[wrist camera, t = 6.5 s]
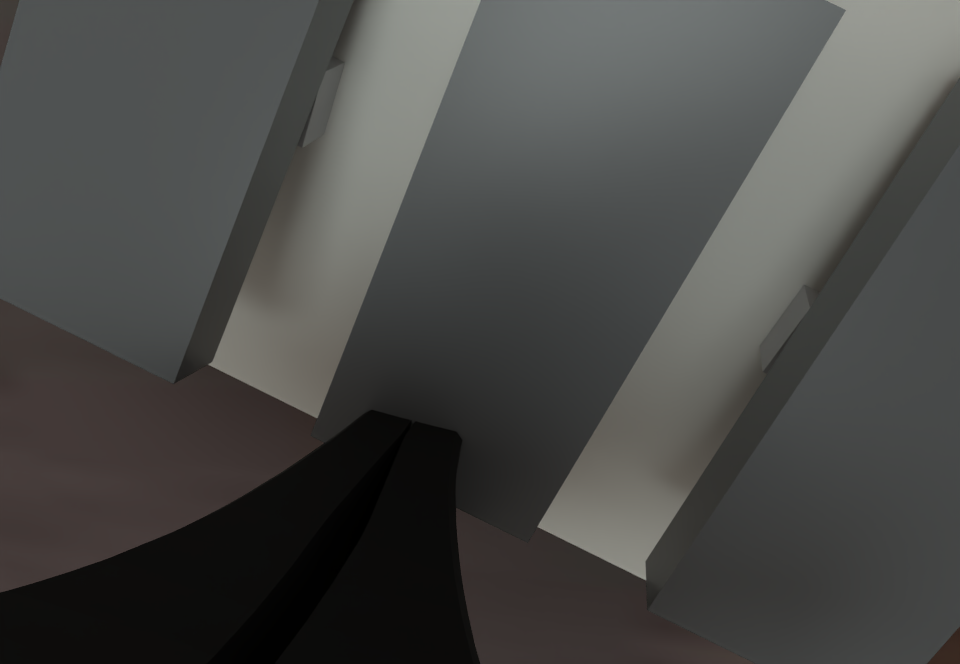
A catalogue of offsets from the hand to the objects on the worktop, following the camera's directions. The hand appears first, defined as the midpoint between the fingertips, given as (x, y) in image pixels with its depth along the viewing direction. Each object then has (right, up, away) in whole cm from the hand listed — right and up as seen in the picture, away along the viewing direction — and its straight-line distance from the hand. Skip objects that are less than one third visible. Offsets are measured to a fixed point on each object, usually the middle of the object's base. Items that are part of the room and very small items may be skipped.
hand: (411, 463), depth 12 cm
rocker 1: (-3, +6, -1) cm, 7 cm away
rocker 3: (+7, +1, -1) cm, 7 cm away
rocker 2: (+2, +3, -1) cm, 4 cm away
